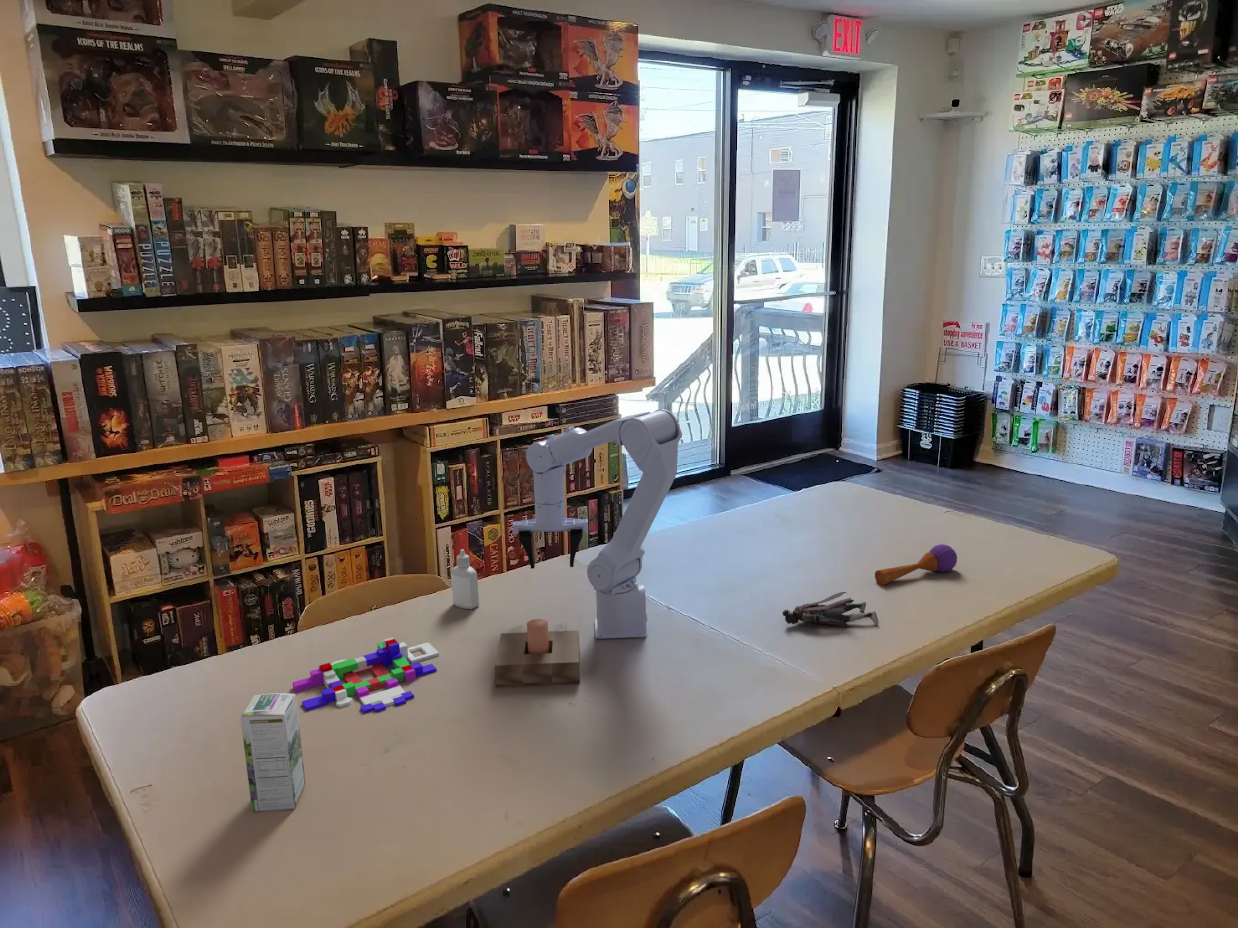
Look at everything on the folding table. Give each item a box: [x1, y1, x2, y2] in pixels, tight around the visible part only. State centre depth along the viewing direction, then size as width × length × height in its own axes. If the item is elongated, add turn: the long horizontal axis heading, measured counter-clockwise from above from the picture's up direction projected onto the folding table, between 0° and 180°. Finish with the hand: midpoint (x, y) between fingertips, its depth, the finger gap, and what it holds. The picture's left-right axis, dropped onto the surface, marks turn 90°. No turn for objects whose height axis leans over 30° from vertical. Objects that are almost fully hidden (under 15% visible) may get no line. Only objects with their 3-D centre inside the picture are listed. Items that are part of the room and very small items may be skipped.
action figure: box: [782, 591, 880, 628], centre depth 172 cm, size 8×6×18 cm
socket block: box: [494, 630, 581, 688], centre depth 157 cm, size 14×12×4 cm
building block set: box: [292, 636, 440, 714], centre depth 154 cm, size 25×20×4 cm
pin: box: [526, 618, 549, 654], centre depth 156 cm, size 4×4×8 cm
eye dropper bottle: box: [450, 548, 480, 610], centre depth 182 cm, size 4×6×12 cm
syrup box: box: [240, 692, 306, 813], centre depth 121 cm, size 6×6×14 cm
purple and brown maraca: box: [874, 544, 958, 586], centre depth 193 cm, size 6×6×20 cm
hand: (552, 566), depth 178 cm, fingers open, 7 cm apart
